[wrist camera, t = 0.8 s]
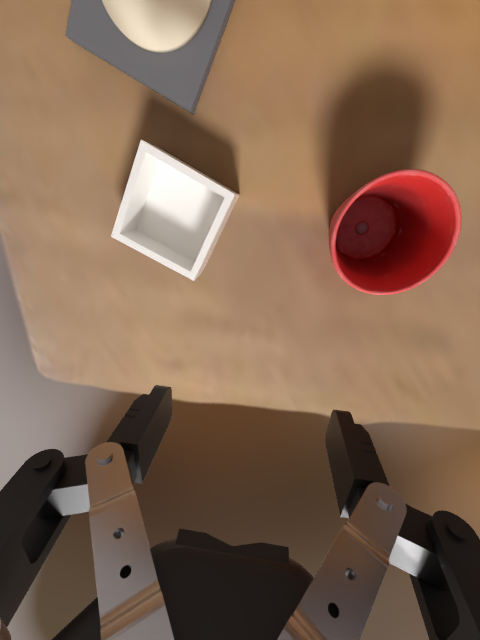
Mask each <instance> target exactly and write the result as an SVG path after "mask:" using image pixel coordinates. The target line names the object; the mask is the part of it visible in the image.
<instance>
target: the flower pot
mask: <svg viewBox="0 0 480 640" xmlns="http://www.w3.org/2000/svg"><path fill="white" fill-rule="evenodd" d="M460 230H461V208H460V204H459V201H458V198H457V196H456V194H455V192H454V191H453V189H452V188H451V186H450V185H449V184H448V183H447V182H445V181H444V180H443V179H442V178H440V177H439V176H437V175H435V174H433V173H431V172H428V171H424V170H418V169H403V170H397V171H393V172H389V173H386V174H384V175H381V176H379V177H377V178H375V179H373V180H372V181H370V182H368V183H367V184H365V185H363V186H362V187H361V188H359V189H358V190H357V191H356V192H354V193H353V194H352V195H351V196H350V197H349V198H347V199H346V200H345V201H344V202H343V203H342V204H341V205H340V206H339V208H338V209H337V210H336V212H335V214H334V215H333V217H332V220H331V223H330V229H329V248H330V254H331V259H332V262H333V265H334V268H335V270H336V271H337V273H338V275H339V276H340V277H341V278H342V279H343V280H344V281H345V282H346V283H347V284H348V285H350V286H351V287H353V288H355V289H357V290H359V291H362V292H365V293H369V294H376V295H388V294H395V293H400V292H403V291H406V290H409V289H412V288H414V287H416V286H418V285H420V284H421V283H423V282H425V281H426V280H427V279H429V278H430V277H431V276H432V275H434V274H435V273H436V272H437V271H438V270H439V269H440V268H441V267H442V265H443V264H444V263H445V262H446V261H447V259H448V258H449V256H450V255H451V253H452V251H453V249H454V247H455V245H456V243H457V240H458V237H459V234H460Z"/></svg>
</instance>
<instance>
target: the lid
mask: <svg viewBox="0 0 480 640" xmlns="http://www.w3.org/2000/svg"><path fill="white" fill-rule="evenodd" d="M102 2H103V4H104V6H105V8H106V10H107V12H108V14H109V16H110V18H111V19H112V21H113V22H114V24H115V25H116V26H117V27H118V28H119V30H120V31H121V32H122V33H123V34H124V35H125V36H126V37H127V38H128V39H129V40H130V41H131V42H133V43H134V44H135V45H137V46H138V47H140V48H142V49H144V50H147V51H150V52H155V53H167V52H172V51H175V50H177V49H180V48H181V47H183V46H185V45H186V44H187V43H188V42H190V41H191V40H192V39H193V38H194V37H195V36H196V35H197V33H198V32H199V30H200V29H201V27H202V26H203V24H204V22H205V20H206V18H207V16H208V13H209V11H210V7H211V4H212V0H102Z"/></svg>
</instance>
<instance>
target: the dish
mask: <svg viewBox="0 0 480 640" xmlns="http://www.w3.org/2000/svg"><path fill="white" fill-rule="evenodd" d="M238 197H239V194H238V193H236V192H234V191H232V190H231V189H229V188H227V187H226V186H224V185H222V184H220V183H219V182H217V181H215V180H214V179H212V178H210V177H208V176H207V175H205V174H203V173H202V172H200V171H198V170H196V169H195V168H193V167H191V166H190V165H188V164H186V163H184V162H183V161H181V160H179V159H178V158H176V157H174V156H172V155H171V154H169V153H167V152H166V151H164V150H162V149H160V148H159V147H156V146H154V145H152V144H150V143H148V142H145V141H143V140H141V141H140V144H139V148H138V151H137V154H136V157H135V160H134V164H133V167H132V170H131V173H130V177H129V180H128V183H127V186H126V190H125V193H124V196H123V199H122V203H121V206H120V209H119V212H118V216H117V219H116V222H115V225H114V229H113V232H112V235H111V237H113V238H115V239H117V240H118V241H120V242H122V243H124V244H126V245H128V246H130V247H132V248H133V249H135V250H137V251H139V252H141V253H143V254H145V255H147V256H148V257H150V258H152V259H154V260H156V261H158V262H160V263H162V264H163V265H165V266H167V267H169V268H171V269H173V270H175V271H176V272H178V273H180V274H182V275H184V276H186V277H188V278H190V279H191V280H193V281H194V280H195V279H196V278H197V277H198V276H199V275H200V274H201V273H202V272H203V270H204V268H205V266H206V264H207V262H208V260H209V258H210V256H211V254H212V252H213V249H214V247H215V245H216V243H217V241H218V239H219V237H220V235H221V233H222V231H223V229H224V227H225V224H226V222H227V220H228V218H229V216H230V214H231V212H232V210H233V208H234V206H235V204H236V202H237V199H238Z"/></svg>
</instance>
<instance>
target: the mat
mask: <svg viewBox="0 0 480 640" xmlns="http://www.w3.org/2000/svg"><path fill="white" fill-rule="evenodd" d="M234 3H235V0H212V4H211V7H210V11H209V13H208V16H207V18H206V20H205V22H204V24H203V26H202V27H201V29H200V30H199V32H198V33H197V35H196V36H195V37H194V38H193V39H192V40H191V41H190V42H188V43H187V44H186V45H185V46H183V47H181V48H180V49H177V50H175V51H172V52H167V53H155V52H150V51H147V50H144V49H142V48H140V47H138V46H137V45H135V44H134V43H133V42H131V41H130V40H129V39H128V38H127V37H126V36H125V35H124V34H123V33H122V32H121V31H120V30H119V28H118V27H117V26H116V25H115V24H114V22H113V21H112V19H111V18H110V16H109V14H108V12H107V10H106V8H105V6H104V4H103V2H102V0H72V2H71V8H70V14H69V19H68V25H67V30H66V36H67V37H68V38H69V39H70V40H72V41H73V42H74V43H76V44H78V45H79V46H81V47H83V48H84V49H86V50H88V51H89V52H91V53H92V54H94V55H96V56H97V57H99V58H101V59H102V60H104V61H106V62H107V63H109V64H111V65H112V66H114V67H116V68H117V69H119V70H121V71H122V72H124V73H125V74H127V75H129V76H130V77H132V78H134V79H135V80H137V81H139V82H140V83H142V84H144V85H145V86H147V87H149V88H150V89H152V90H154V91H155V92H157V93H158V94H160V95H162V96H163V97H165V98H167V99H168V100H170V101H172V102H173V103H175V104H177V105H178V106H180V107H182V108H183V109H185V110H187V111H188V112H190V113H191V114H194V111H195V109H196V106H197V103H198V101H199V98H200V95H201V92H202V90H203V87H204V84H205V82H206V79H207V76H208V73H209V71H210V68H211V65H212V62H213V60H214V57H215V54H216V52H217V49H218V46H219V43H220V41H221V38H222V35H223V33H224V30H225V27H226V24H227V22H228V19H229V16H230V14H231V11H232V8H233V5H234Z"/></svg>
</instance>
